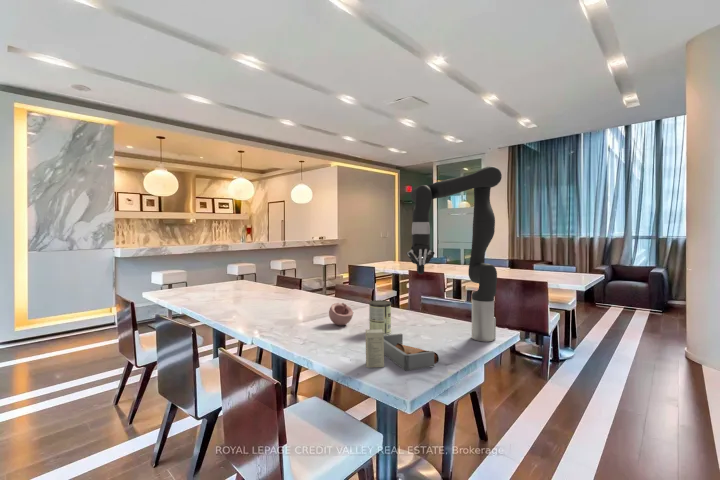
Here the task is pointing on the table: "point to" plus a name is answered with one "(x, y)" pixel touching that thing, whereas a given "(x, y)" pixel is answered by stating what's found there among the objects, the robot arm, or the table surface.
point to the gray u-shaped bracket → (406, 359)
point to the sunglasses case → (414, 351)
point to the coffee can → (380, 315)
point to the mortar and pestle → (340, 313)
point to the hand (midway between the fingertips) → (420, 273)
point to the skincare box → (374, 348)
